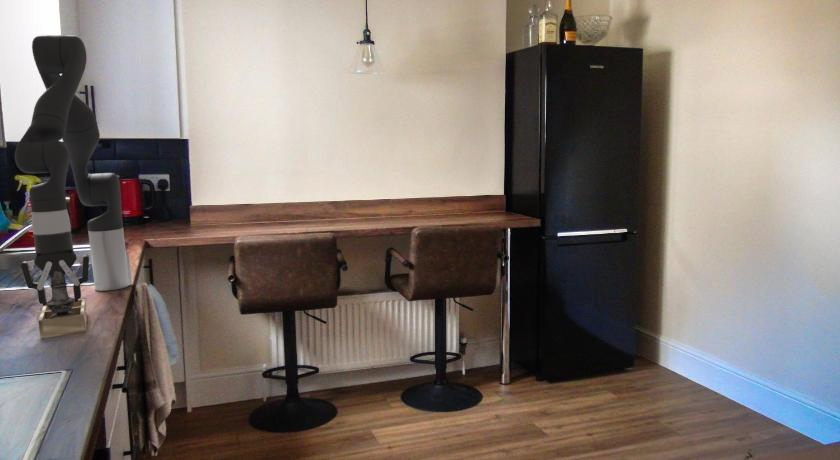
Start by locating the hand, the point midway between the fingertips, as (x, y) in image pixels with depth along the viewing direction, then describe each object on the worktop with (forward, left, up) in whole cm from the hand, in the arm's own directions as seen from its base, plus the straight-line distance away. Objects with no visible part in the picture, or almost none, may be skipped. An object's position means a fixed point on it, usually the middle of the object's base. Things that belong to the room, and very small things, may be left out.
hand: (61, 302), depth 156 cm
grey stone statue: (0, 0, -3) cm, 3 cm away
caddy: (-3, -3, -6) cm, 8 cm away
